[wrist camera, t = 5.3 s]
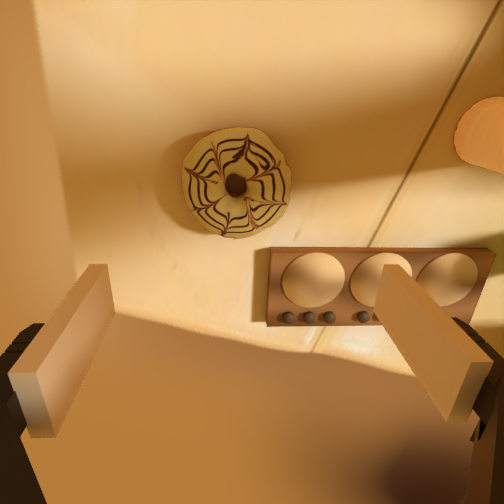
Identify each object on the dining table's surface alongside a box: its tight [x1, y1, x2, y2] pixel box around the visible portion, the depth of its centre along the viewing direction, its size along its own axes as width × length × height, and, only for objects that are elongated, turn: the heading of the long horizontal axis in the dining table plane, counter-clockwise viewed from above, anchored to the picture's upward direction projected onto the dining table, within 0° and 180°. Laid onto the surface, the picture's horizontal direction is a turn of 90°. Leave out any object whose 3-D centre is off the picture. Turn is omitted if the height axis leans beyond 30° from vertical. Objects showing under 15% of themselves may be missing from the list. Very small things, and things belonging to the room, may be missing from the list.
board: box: [266, 247, 496, 327], centre depth 41 cm, size 10×26×2 cm, turn 88°
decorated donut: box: [181, 127, 292, 239], centre depth 34 cm, size 10×11×4 cm
